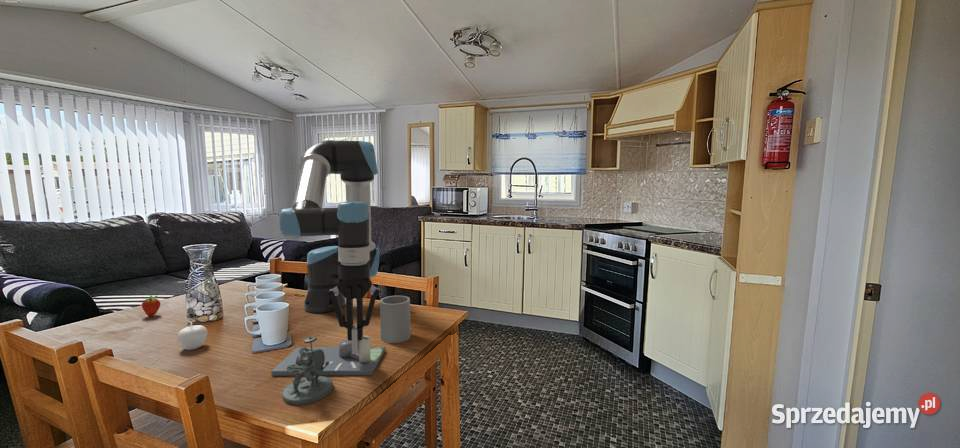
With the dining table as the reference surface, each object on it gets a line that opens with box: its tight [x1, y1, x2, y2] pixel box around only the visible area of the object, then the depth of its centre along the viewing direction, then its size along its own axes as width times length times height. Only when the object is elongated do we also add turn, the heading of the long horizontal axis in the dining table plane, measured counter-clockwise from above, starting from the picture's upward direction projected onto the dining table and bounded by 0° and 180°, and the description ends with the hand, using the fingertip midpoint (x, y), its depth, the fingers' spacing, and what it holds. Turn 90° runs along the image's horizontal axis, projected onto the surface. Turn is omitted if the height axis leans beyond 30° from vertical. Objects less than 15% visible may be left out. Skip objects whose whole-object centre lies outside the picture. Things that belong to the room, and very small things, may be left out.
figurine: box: [281, 335, 334, 406], centre depth 87 cm, size 11×11×12 cm
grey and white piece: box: [338, 335, 371, 362], centre depth 101 cm, size 11×4×6 cm, turn 57°
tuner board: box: [270, 346, 386, 377], centre depth 102 cm, size 14×25×1 cm, turn 90°
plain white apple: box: [177, 321, 208, 351], centre depth 111 cm, size 7×7×8 cm
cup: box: [379, 295, 412, 344], centre depth 118 cm, size 9×9×12 cm
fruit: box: [141, 294, 161, 317], centre depth 137 cm, size 5×5×8 cm
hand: (355, 351), depth 98 cm, fingers closed
